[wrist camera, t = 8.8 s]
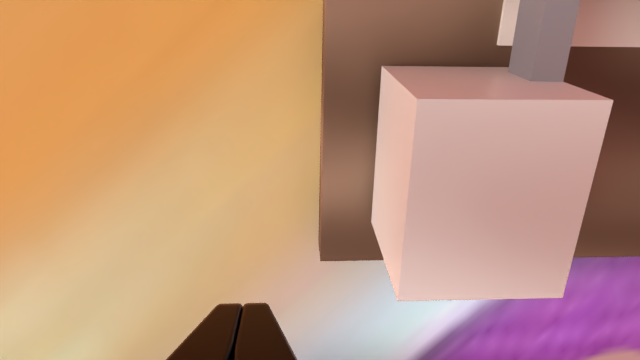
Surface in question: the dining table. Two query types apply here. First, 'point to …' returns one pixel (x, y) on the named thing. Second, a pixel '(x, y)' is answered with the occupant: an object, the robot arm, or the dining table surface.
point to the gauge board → (469, 51)
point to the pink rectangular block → (487, 168)
